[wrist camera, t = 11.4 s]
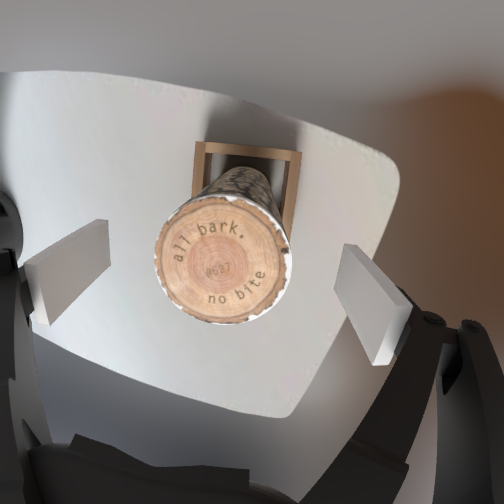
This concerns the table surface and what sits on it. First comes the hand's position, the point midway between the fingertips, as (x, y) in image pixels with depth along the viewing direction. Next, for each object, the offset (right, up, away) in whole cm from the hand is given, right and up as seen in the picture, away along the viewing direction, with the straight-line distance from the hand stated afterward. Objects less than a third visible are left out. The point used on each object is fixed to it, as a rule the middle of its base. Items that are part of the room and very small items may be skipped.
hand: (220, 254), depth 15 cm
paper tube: (+1, +8, +22) cm, 24 cm away
